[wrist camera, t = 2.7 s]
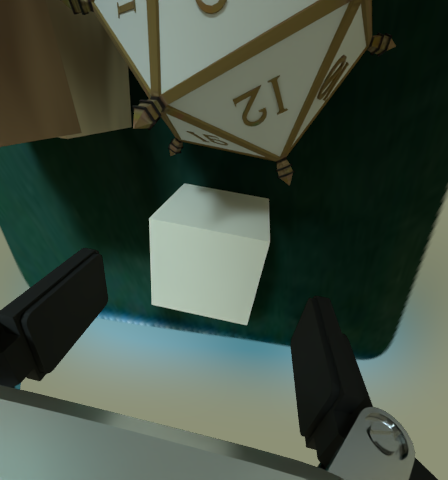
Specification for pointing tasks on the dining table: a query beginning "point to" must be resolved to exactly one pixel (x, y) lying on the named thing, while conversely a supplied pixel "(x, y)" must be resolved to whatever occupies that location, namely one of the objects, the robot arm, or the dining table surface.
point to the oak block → (92, 71)
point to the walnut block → (32, 76)
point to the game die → (237, 66)
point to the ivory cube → (209, 252)
